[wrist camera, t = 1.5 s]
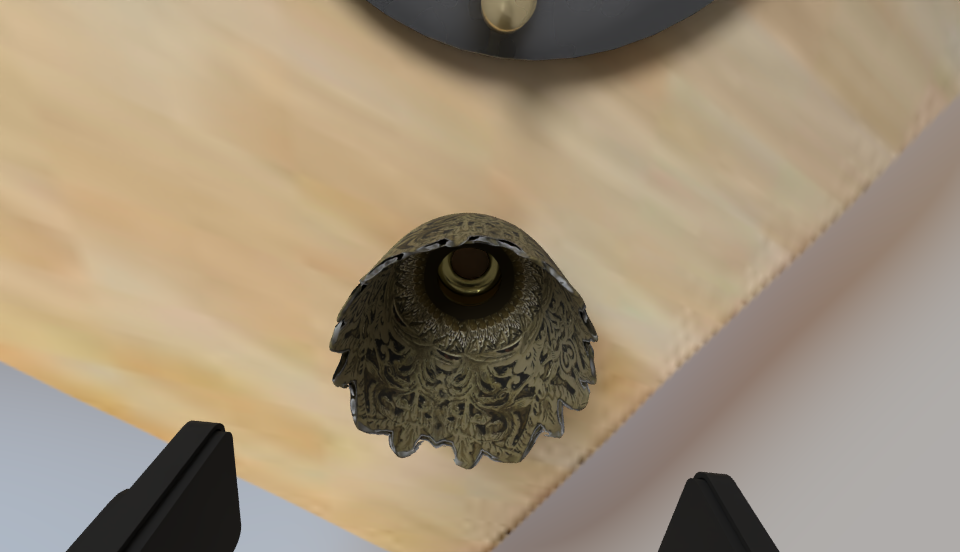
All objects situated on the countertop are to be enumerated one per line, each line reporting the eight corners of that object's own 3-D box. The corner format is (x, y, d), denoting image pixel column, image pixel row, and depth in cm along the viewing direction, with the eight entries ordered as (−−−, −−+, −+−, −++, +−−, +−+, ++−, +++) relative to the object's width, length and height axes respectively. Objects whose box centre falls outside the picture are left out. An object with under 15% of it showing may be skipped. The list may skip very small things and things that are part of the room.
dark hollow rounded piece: (583, 206, 19) (648, 292, 12) (523, 351, 22) (545, 493, 14) (406, 151, 18) (356, 208, 11) (368, 310, 21) (308, 440, 14)
